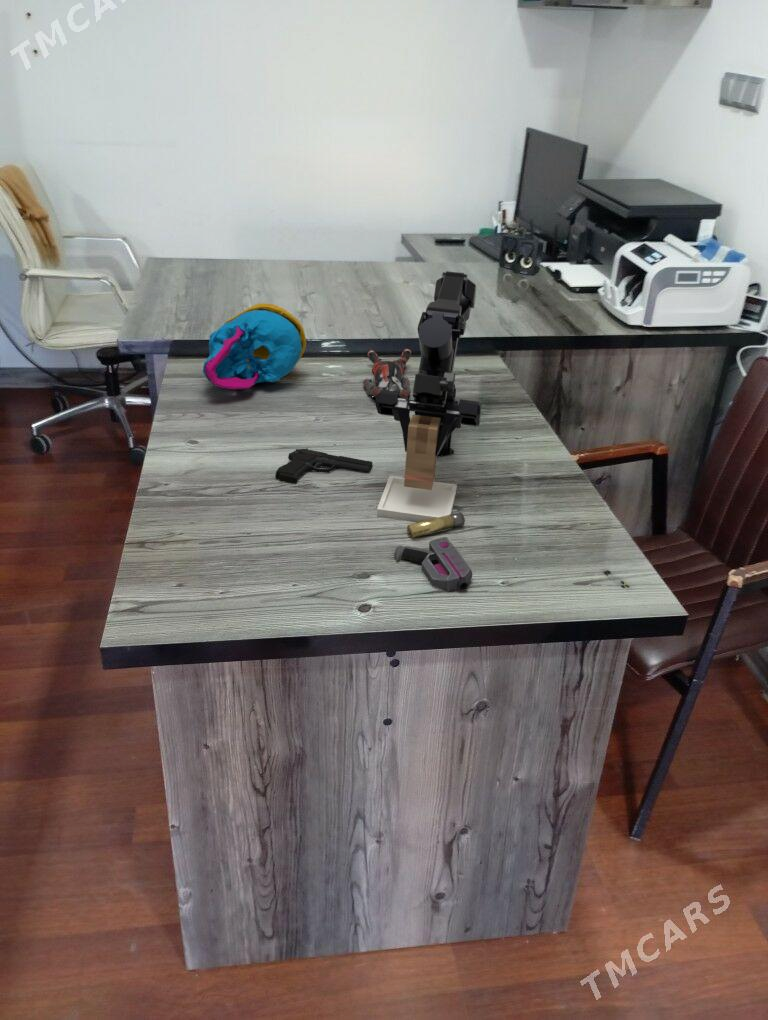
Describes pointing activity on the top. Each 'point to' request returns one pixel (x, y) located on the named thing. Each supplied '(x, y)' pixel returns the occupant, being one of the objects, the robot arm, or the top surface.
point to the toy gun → (439, 564)
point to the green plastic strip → (613, 578)
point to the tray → (416, 501)
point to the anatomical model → (254, 347)
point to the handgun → (317, 464)
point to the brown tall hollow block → (421, 452)
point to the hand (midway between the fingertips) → (421, 453)
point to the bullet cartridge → (435, 525)
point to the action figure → (389, 375)
